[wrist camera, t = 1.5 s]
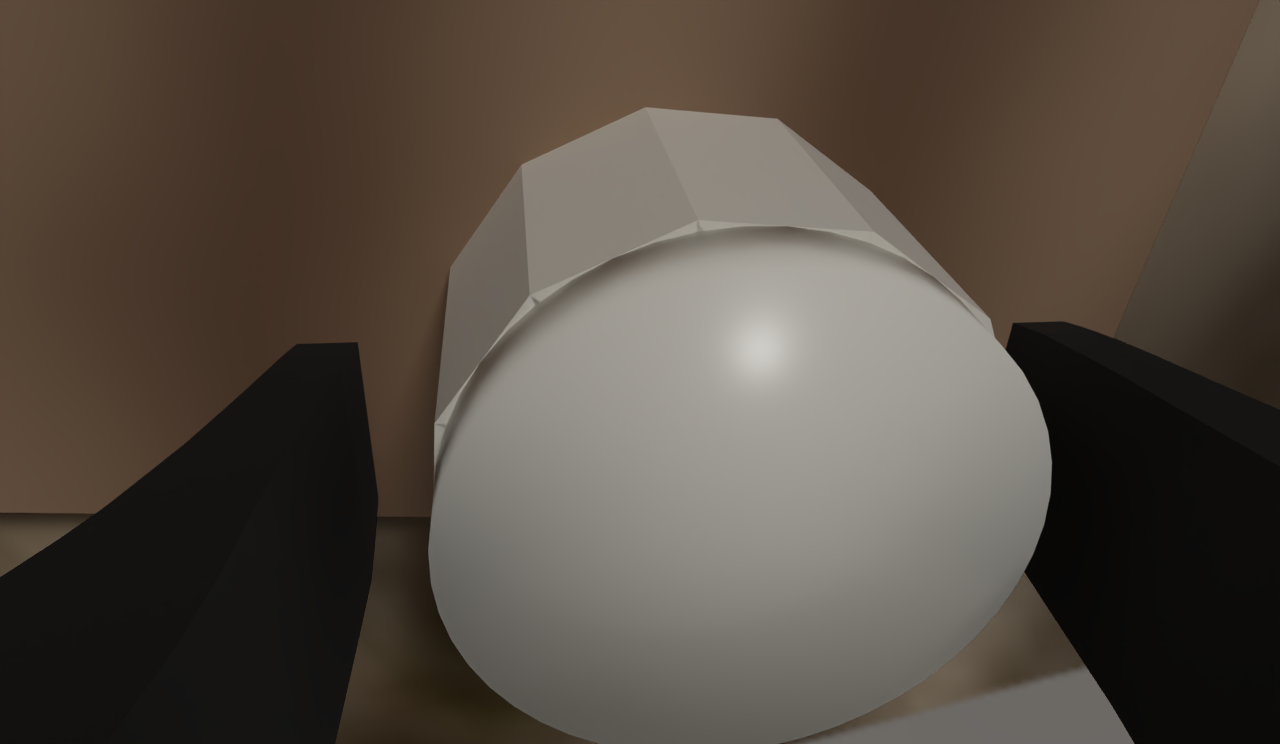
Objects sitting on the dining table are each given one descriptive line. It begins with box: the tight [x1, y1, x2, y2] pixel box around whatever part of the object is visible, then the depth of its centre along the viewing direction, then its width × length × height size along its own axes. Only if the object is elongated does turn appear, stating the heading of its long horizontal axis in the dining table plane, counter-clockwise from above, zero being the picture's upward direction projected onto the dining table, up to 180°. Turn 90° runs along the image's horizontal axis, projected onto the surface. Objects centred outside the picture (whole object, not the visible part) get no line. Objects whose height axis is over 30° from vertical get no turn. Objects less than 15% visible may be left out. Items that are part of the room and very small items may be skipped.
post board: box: [0, 0, 1259, 517], centre depth 8 cm, size 20×10×6 cm, turn 83°
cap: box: [428, 107, 1052, 744], centre depth 10 cm, size 6×6×4 cm
